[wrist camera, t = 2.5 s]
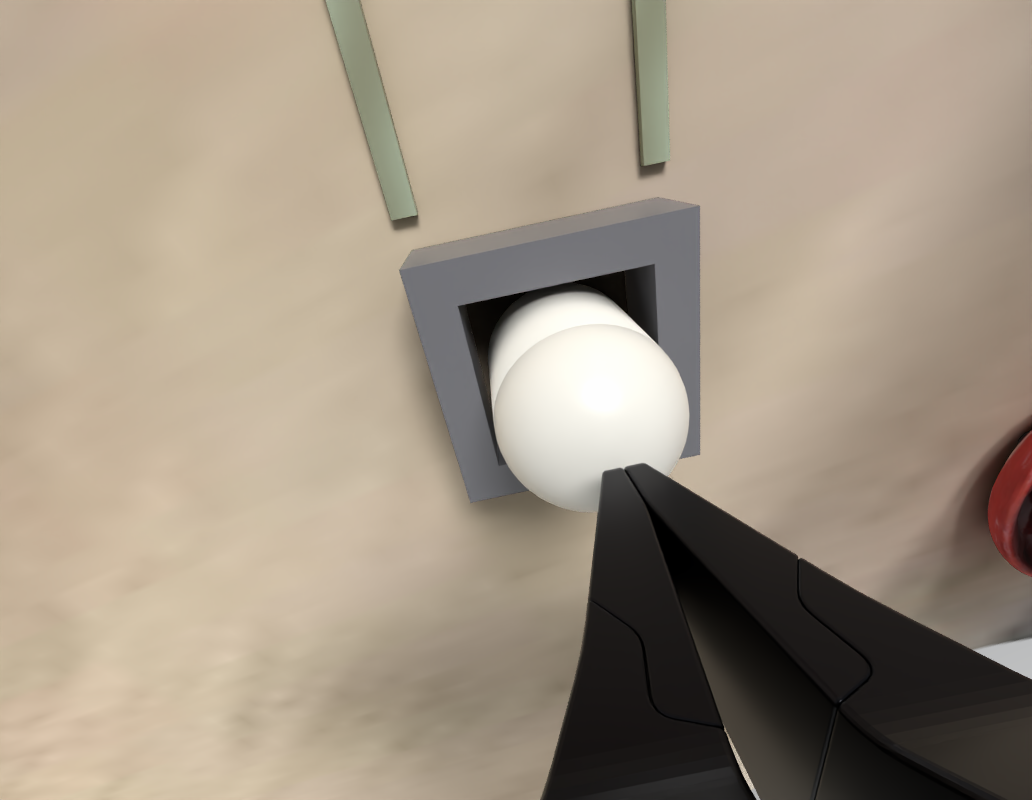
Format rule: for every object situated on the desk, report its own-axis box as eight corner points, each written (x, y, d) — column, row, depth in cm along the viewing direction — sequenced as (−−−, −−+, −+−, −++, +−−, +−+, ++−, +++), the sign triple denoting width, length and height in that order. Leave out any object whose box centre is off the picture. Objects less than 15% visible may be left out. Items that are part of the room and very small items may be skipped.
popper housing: (658, 197, 15) (699, 205, 12) (666, 412, 18) (700, 454, 16) (411, 250, 15) (398, 270, 12) (470, 453, 18) (470, 502, 16)
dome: (626, 268, 14) (731, 340, 8) (636, 403, 16) (725, 532, 11) (472, 300, 14) (474, 395, 8) (504, 431, 16) (522, 574, 11)
